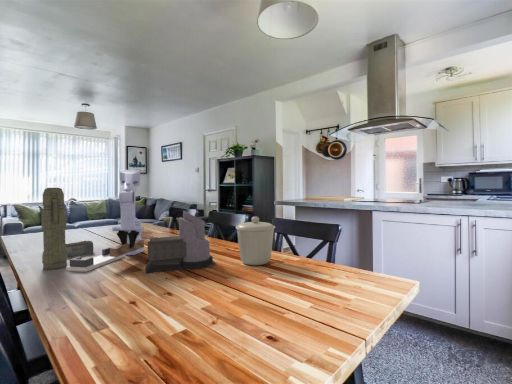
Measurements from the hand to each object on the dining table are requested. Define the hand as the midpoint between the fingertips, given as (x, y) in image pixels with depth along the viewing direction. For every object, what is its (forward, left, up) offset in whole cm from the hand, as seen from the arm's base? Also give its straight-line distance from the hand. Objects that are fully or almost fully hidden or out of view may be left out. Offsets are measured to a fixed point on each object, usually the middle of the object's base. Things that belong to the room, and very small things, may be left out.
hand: (128, 247), depth 128 cm
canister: (-11, +57, -8) cm, 59 cm away
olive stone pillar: (+10, -29, -8) cm, 32 cm away
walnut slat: (0, 0, -2) cm, 2 cm away
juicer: (-1, +26, -8) cm, 27 cm away
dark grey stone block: (-10, -40, -8) cm, 42 cm away
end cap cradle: (+1, -15, -8) cm, 17 cm away
